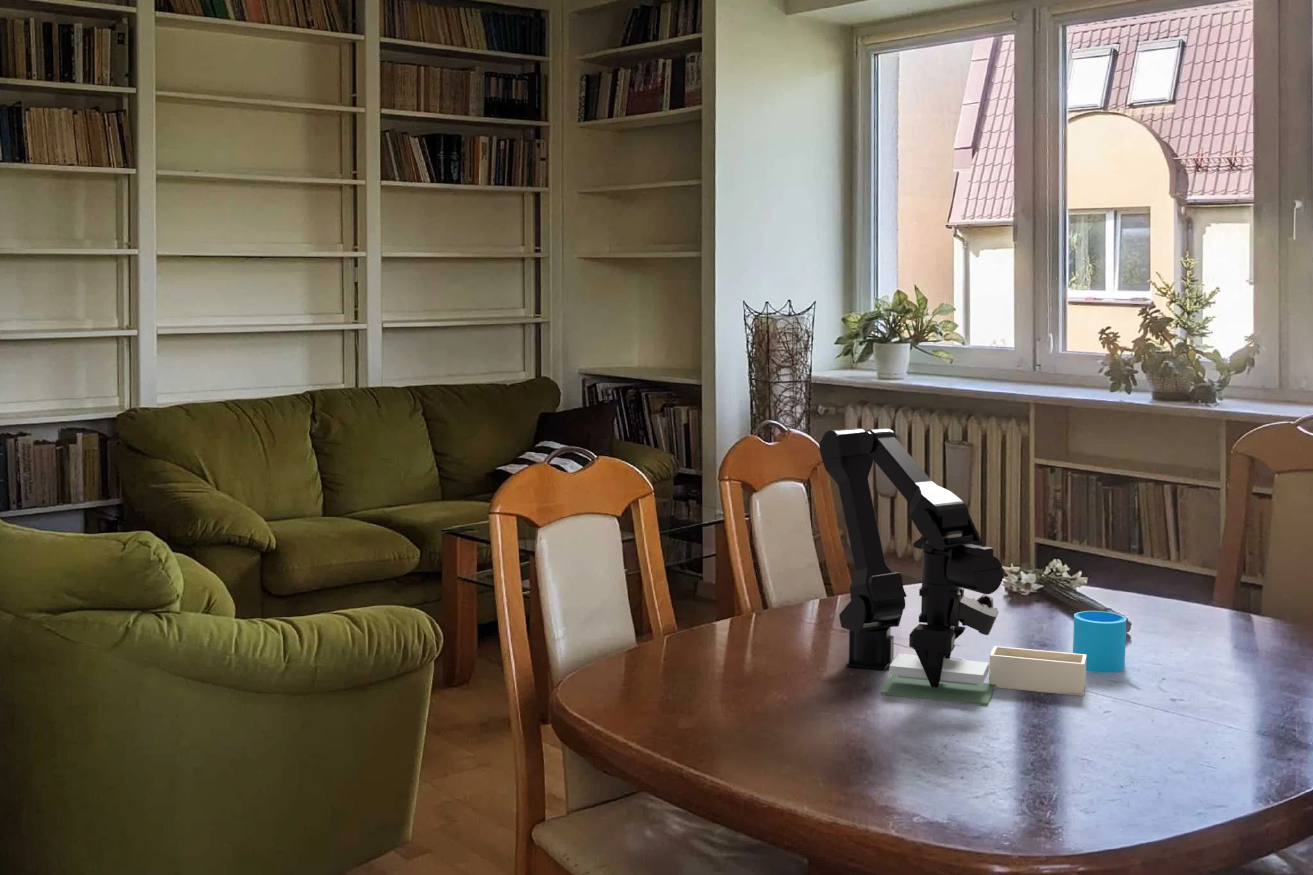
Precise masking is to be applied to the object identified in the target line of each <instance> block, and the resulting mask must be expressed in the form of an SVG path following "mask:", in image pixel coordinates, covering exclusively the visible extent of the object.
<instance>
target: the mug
mask: <svg viewBox="0 0 1313 875" xmlns="http://www.w3.org/2000/svg"><path fill="white" fill-rule="evenodd" d="M1072 634H1073V637H1072V638H1073V640H1072V641H1073V642H1072V653H1075V654H1086V655H1087V657H1086V672H1093V673H1103V674H1106V673H1107V674H1108V673H1109V674H1110V673H1111V674H1112V673H1119V672H1122V671H1123V670H1125V669H1126V668H1125V665H1126V664H1125V663H1126V643H1127V642H1126V639H1127V638H1126V637H1127V617H1126V616H1124V615H1121V614H1119V613H1115V612H1111V611H1104V610H1102V611H1100V610H1084V611H1079V612H1075V613H1074V614H1073V633H1072Z"/></svg>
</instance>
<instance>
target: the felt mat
mask: <svg viewBox="0 0 1313 875" xmlns="http://www.w3.org/2000/svg"><path fill="white" fill-rule="evenodd" d="M996 688H997V687H996V685H993V684H989V682H988V683H987V682H983V684H978V685H977V686H976V685H966V684H956V683H947V682H940V683H939V686H938V687H937V688H936V687H931V685H930V683H929V681H927V680H918V679H908V678H899V677H898V675H890V677H889V679H888V680H887V681H886V683H885V685H884V686H883V687H882V689H881V690H880V695H881V696H882V695H884V696H893V697H902V698H913V699H919V700H920V699H923V700H931V701H939V702H949V703H957V704H968V705H975V706H985V707H988V706H989V703H990V701H991V699H992V696H993V694H994V691H995V690H996Z"/></svg>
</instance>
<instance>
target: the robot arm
mask: <svg viewBox="0 0 1313 875" xmlns="http://www.w3.org/2000/svg"><path fill="white" fill-rule="evenodd" d="M818 448H819V449H818V450H819V454H820V457H821V460H822V463H823V465H824V468H825V469H824V470H825V471H826V473H827V474H828V475H829V476H830V477H831V478H832V480H833V481H834V482H835V483H836V484H837V486H838V490H839V495H840V496H839V497H840V500H841V505H842V510H843V516H844V519H845V520H844V521H845V525H846V530H847V534H848V539H849V544H850V550H851V553H852V554H851V555H852V559H853V563H854V570H855V571H854V574H853V577H852V580H851V583H850V586H849V593H850V594H849V595H850V596H849V597H850V601H849V602H848V604H847V605H846V606H845V607H844V609H842V610H841V612H840V613H839V614H838V617H839V622H840V626H841V628H842V629H846V630H848V631H849V632H848V660H847V662H845V667H846V666H847V667H852V668H861V669H870V670H871V669H872V670H886V669H887V668H888V667H889V666H890V665H891V663H892V662H893V660H894V649H895V648H894V647H895V646H894V645H895V644H894V642H895V638H894V636H893V635H891V631H892V630H891V628H894V627H895V628H896V627H899V626H900V623H901V619H902V615H903V612H904V610H905V609H906V599H905V598H907V596H908V595H907V593H906V592H905V589H904V584H903V583H904V582H903V576H902V575H901V573H900V572H899V571H897V572H893V571H892V569H890V567H889V566H888V565H887V563H886V559H885V554H884V548H883V545H882V541H881V536H880V531H879V526H878V521H877V516H876V511H875V507H874V506H875V505H874V501H873V497H872V492H871V488H870V482H869V476H870V474H871V470H872V468H873V465H874V463H875V464H876V465H877V466H878V467H879V469H880V470H881V471H882V472H883V474H884V475H885V476H886V477H887V478H888V480H889V481H890V482H891V483H892V485H894V486H893V487H895V488H896V489H897V491H898V492H899V493H900V495H902V496H903V498H904V499H905V500H906V502H907V504H908V506H909V508H908V509H909V517H910V519H911V520H912V522H913V524H914V526H915V528H916V529H917V530H918V533H919V534H920V535H921V537H919V539H917V540H916V541H914V542H913V544H912V546H913V547H914V548H915V549H918V550H919V549H920V550H921V551H922V566H921V568H922V570H921V571H922V572H921V586H920V588H919V590H918V593H919V595H918V596H919V597H921V606H920V607H921V608H920V609H921V612H920V614H919V615H918V623H919V624H918V625H917V626H915V628H913V630H911V631H910V633H909V638H908V640H909V641H908V646H909V648H912V649H913V650H914V651H915V653H916V655H917V656H918V658H919V660H920V662H921V664H922V666H923V669H924V671H925V673H926V676H927V678H928V680H929V683H930V685H931V687H936V688H937V687H938V686H939V683H940V678H941V673H942V669H943V664H944V659H945V658H948V659H951V655H952V652H953V651H954V649H955V648H956V645H955V642H956V639H958V638H959V637H960V636H961V635H963V633H964V632H965V630H966V627H969V628H970V629H973V630H975V631H978V633H980V634H981V635H984V636H989V635H990V633H991V632H992V629H993V626H994V623H995V622H996V620H997V617H998V614H999V610H998V608H997V607H994V598H993V597H992V596H989V595H991V594H993V593H994V592H996V591H997V590H998V589H999V588H1000V586H1001V584H1002V582H1003V579H1004V574H1005V573H1004V569H1003V566H1002V563H1001V561H1000V559H998V558H997V557H996V556H995V555H994V548H993V547H991V546H982V545H983V541H982V539H981V537H980V533H979V532H978V530H977V528H976V526H975V523H974V521H973V519H972V517H971V515H970V511H969V508H968V506H967V505H966V504H965V503H966V502H964V501H963V500H962V499H961V498H960V497H958V496H957V495H956V494H955V493H953V492H952V491H950V490H948V489H946V488H944V487H941V486H940V485H938V484H936V483H935V482H933V480H932V479H931V478H930V477H929V476H928V475H927V473H926V472H925V471H924V470H923V469H922V468H921V466H920V465H919V464H918V463H917V462H916V461H915V459H914V458H913V457H912V456H911V455H910V453H909V452H908V451H907V450H906V449H905V448H904V446H903V445H902V444H901V443H900V442H899V440H898V439H897V435H896V434H895V432H894V431H893V430H892V429H890V428H874V429H867V430H864V429H863V428H860V427H859V428H857V427H856V428H845V429H844V428H843V429H832V430H827V431H825V433H824V434H823V436H822V438H821V439H820V441H819V446H818ZM965 590H969V591H973V592H975V593H979V594H982V595H981V596H980V597H978V598H977V599H975V597H972V598H971V597H968V596H966V595H965ZM923 623H924V624H923ZM960 623H961V626H960Z"/></svg>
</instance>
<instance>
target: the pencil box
mask: <svg viewBox="0 0 1313 875" xmlns="http://www.w3.org/2000/svg"><path fill="white" fill-rule="evenodd" d="M1086 657H1087V655H1086V654H1075V653H1073V652H1064V651H1063V652H1062V651H1053V650H1041V649H1032V648H1031V649H1029V648H1021V647H1020V648H1018V647H1009V646H997V645H994V646H993V647H992V649H991V652H990V654H989V672H988V675H989V676H988V683H989V684H993V685H996V687H995V688H999V689H1000V688H1001V689H1009V690H1018V691H1019V690H1020V691H1029V692H1039V693H1049V694H1058V695H1059V694H1060V695H1065V696H1067V695H1068V696H1077V697H1084V695H1085V690H1086V682H1087V681H1086V679H1087V677H1086V676H1087V671H1086Z"/></svg>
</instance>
